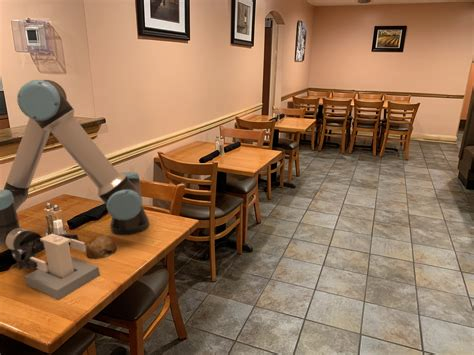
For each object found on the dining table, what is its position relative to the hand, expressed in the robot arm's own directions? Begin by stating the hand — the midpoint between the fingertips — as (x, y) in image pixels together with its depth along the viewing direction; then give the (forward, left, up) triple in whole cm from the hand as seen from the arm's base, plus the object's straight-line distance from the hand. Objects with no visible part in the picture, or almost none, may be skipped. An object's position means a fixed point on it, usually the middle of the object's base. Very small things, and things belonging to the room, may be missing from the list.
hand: (65, 256), depth 105 cm
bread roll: (-7, -18, -9) cm, 21 cm away
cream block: (+3, -3, -9) cm, 10 cm away
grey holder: (+3, -3, -9) cm, 10 cm away
